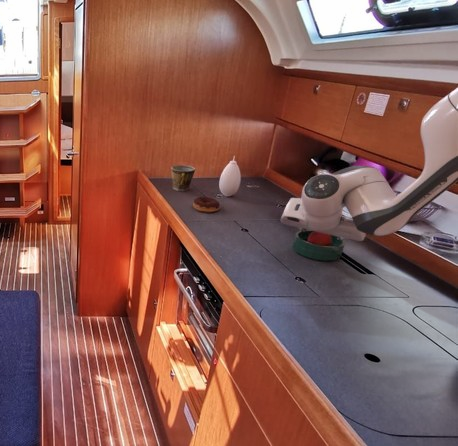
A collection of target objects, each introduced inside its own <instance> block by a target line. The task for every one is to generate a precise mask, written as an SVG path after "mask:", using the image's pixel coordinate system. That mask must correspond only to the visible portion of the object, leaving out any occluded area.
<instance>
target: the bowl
mask: <svg viewBox="0 0 458 446" xmlns="http://www.w3.org/2000/svg"><path fill="white" fill-rule="evenodd" d="M312 232H314V231H312V230H306V232H301V231H300V230H298V231H297V232H296V233H295V235H294V238H293V242H292V249H293V250H294V251H295V252H296V253H297V254H299V255H301V256H303V257H305V258H307V259H310V260H311V259H312V260H316V261H323V262H329V261H337V260H339V259H341V257H342V255H343V253H344V249H345V246H346V241H345V239H344V240H343V241H340V240H337V237H338V236H334V235H330V236H331V239H332V242H331V245H330V246H321V245H315V244H312V243H309V242H307V240H308V237H309V235H310V234H311V233H312Z"/></svg>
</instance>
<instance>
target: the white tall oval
mask: <svg viewBox="0 0 458 446" xmlns="http://www.w3.org/2000/svg"><path fill="white" fill-rule="evenodd" d="M235 157H236V156H235V155H233V159H232V160H230V161H229V163H227V165H226V166H225V167H224V168H223V171H222V173H220V174H221V175H220V178H219V181H218V186H219V187H218V188H219V191H220V193H221V194H222V195H223V196H224V197H231V196H233V195H236V193H237V192H238V191H239V189H240V186H241V181H242V175H241V170H240V167H239V165H238V164H237V163H238V162H237V161H236V160H235V159H236V158H235Z"/></svg>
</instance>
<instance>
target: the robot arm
mask: <svg viewBox="0 0 458 446" xmlns="http://www.w3.org/2000/svg"><path fill="white" fill-rule="evenodd" d="M419 134H420V139H421V143H422V146H423V151H424V152H423V153H424V166H423V169H422V171H421V174H420V175H419V176H418V177H417V178H416V179H415V180H414V181H413V182H411V183H410V184H409V185H408V186H406V187H405V188H404V189H403V190H402V191H401V192H400V193H399V194H398V195H397V194H396V193H395V191H394V190H393V189H392V187H391V186H390V183H389V182H388V180H387V179H386V177H385V176H384V175H383V174H382V172H381V171H380V169H379V168H377V167H374V166H370V165H353V166H348V167H345V168H342V169H339V170H338V171H336V172H333V173H321V174H317V175H315V176H312V177H310V179H308V180H307V181H306V182H305V184H304V185H303V187H302V190H301V196H300V197H290V199H289V201H288V202H287V204H286V206H285V208H284V210H283V212H282V215H281V217H280V223H282V224H283V225H287V226H290V227H295V228H296V229H298V230H299V231H301V232H306V230H312V231H316V232H320V233H325V234H329V235H334V236H338V237H337V240H340V241H343V240H344V241H345V240H351V241H355V242H363V241H364V240H365V238H366V236H367V235H369V236H373V237H386V236H389V235H392V234H394V233H397V232H398V231H400V230H402V229H403V228H404V227H405V226H407V225H408V224H409V222H410V221H411V220H412V219H413V218H414V217H415V216H416V215H417V214H418V213H420V212H421V211H422V210H424V208H426V207H427V206H428V205H430V204H431V203H432V202H433V201H434V200H436V199H437V198H438V197H440V196H441V195H442V194H444V192H446V191H447V190H449V189H450V188H451V187H453V185H455V184H456V183H458V87H456V88H455V89H453V90H452V91H451V92H450V93H448V94H447V95H445V96H444V97H443V98H441V99H439V101H438V102H436V103H435V104H434V105H433V106H432V107H431V108H430V109H429V110H428V111H427V112H426V113H425V115H424V116H423V117H422V120H421V123H420V133H419ZM344 208H346V209H347V212H349V215H350V216H346V215H343V209H344Z"/></svg>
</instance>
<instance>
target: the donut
mask: <svg viewBox="0 0 458 446" xmlns="http://www.w3.org/2000/svg"><path fill="white" fill-rule="evenodd" d="M220 206H221V205H220V202H219V201H218V200H217V199H215V198H212V197H207V196H197V197H196V198H195V199H194V200H193V203H192V207H193V208H194V209H195V210H196V211H198V212H200V213H215V212H217V211H219V210H220Z"/></svg>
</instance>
